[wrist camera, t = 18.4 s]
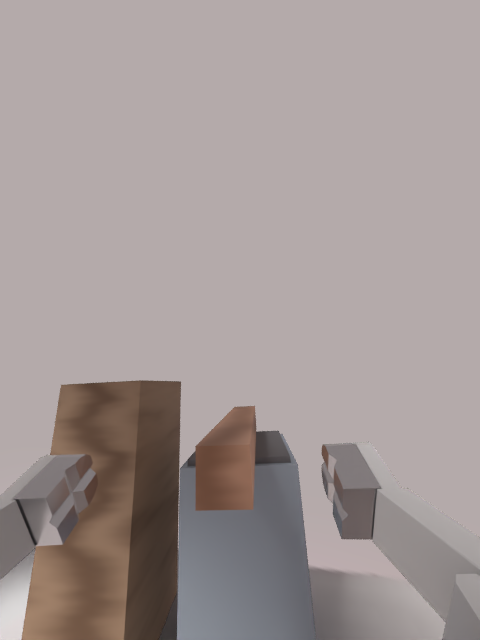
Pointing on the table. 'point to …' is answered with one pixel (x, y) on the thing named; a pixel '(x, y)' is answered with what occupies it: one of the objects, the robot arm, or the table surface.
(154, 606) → the post
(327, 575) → the table surface
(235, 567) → the dock
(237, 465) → the bar
